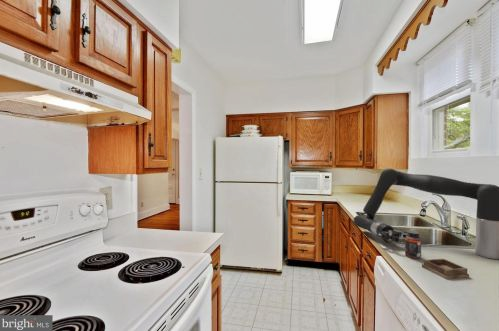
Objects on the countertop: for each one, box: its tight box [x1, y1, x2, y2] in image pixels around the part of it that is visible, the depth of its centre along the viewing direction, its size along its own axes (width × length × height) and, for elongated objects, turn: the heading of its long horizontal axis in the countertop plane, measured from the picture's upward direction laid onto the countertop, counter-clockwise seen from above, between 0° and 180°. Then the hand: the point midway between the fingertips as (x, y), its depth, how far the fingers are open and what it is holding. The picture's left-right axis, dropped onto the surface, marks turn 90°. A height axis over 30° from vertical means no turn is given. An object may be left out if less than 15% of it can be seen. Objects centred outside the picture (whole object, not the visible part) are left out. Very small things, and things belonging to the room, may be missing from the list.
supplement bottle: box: [404, 230, 422, 260], centre depth 111 cm, size 6×6×11 cm
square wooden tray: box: [421, 258, 470, 280], centre depth 96 cm, size 10×10×3 cm
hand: (406, 239), depth 115 cm, fingers open, 8 cm apart
